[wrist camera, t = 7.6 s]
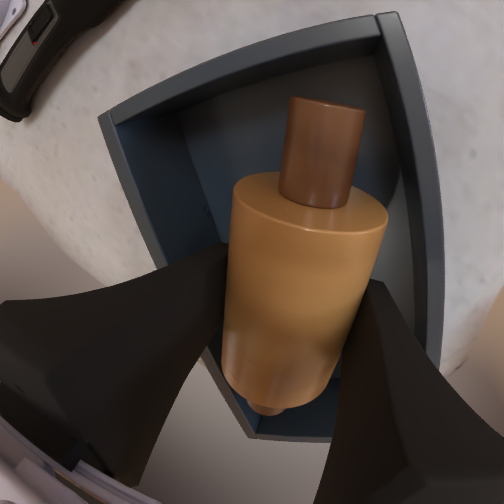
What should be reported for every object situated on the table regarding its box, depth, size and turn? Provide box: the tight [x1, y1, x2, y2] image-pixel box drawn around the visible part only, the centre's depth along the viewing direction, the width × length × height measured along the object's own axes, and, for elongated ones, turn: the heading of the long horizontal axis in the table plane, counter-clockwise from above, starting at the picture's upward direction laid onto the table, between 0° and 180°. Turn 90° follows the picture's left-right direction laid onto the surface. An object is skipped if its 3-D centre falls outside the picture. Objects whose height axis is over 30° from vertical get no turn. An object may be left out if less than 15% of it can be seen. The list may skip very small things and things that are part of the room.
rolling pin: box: [221, 96, 388, 416], centre depth 10 cm, size 4×11×4 cm, turn 174°
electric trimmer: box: [0, 0, 121, 122], centre depth 10 cm, size 4×16×3 cm, turn 119°
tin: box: [98, 11, 445, 443], centre depth 12 cm, size 9×16×4 cm, turn 18°
